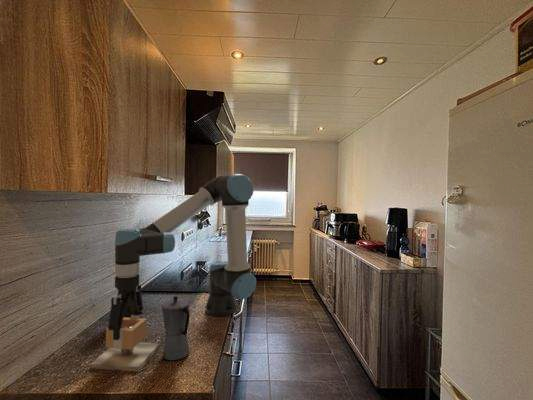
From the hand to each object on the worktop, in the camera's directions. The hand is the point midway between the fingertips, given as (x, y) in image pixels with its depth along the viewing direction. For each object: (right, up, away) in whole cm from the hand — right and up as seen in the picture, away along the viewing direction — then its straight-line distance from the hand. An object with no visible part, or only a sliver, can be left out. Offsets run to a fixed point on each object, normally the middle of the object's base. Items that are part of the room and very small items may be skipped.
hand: (126, 340), depth 96 cm
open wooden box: (0, 0, 0) cm, 0 cm away
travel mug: (-13, -5, +29) cm, 32 cm away
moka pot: (+16, -6, +2) cm, 18 cm away
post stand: (0, -6, 0) cm, 6 cm away
